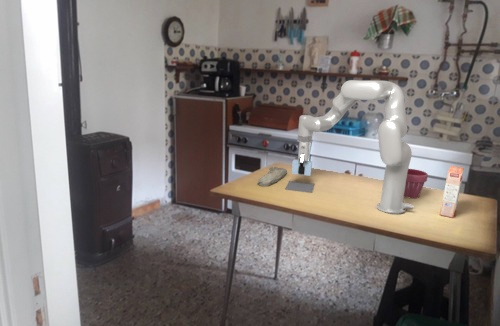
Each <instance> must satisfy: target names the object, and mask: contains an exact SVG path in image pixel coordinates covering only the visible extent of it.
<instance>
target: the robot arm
mask: <svg viewBox="0 0 500 326" xmlns="http://www.w3.org/2000/svg"><path fill="white" fill-rule="evenodd" d="M382 100H383V101H384V115H385V116H384V117H385V120H382V121H381V122H380V124H379V127H378V130H377V136H378V137H377V138H378V145H379V146H378V147H379V148H378V149H379V154H380V155H379V157H380V160H381V161H382V162H383V164H384V165H385V168H384V175H383V176H384V177H383V183H382V190H381V197H380V202H378V203H377V204H376V206H375V207H376V209H378V211H380V212H384V213H387V214H392V215H393V214H394V215H401V214H404V213H405V212H406V209H409V210H414V204H411V203H409V202H408V203H407V202H404V198H405V197H404V191H405V185H406V179H407V173H408V169H410V168H409V167H410V163H411V159H412V154H413V153H412V148H411V146H410V145H409V144H408V143H406V142H405V141H404V142H403V141H402V138H403V137H405V136H406V135H407V133H408V123H407V112H406V103H405V95H404V92H403V90H402V88H401V87H400V86H399V84H397V83H395V82H393V81H389V80H358V79H350V80H347V81H345V82H344V83H343V84H342V86H341V87H340V92H339V94H338V95H337V96H336V97H334V98H333V99H332V107H331V108H330V110H329V111H327V112H326V113H325V114H324V115H321V116H313V115H311V114H310V115H309V114H302V115H300V116H299V119H298V129H297V140H296V141H297V142H299V143H298V157H297V160H299V168H298V174H297V175H299V174H304V171H305V167H304V165H305V161H306V162H307V161H309V159H310V147H311V146H310V145H311V143H312V142H313V133H320V132H325V131H329V130H330V129H332V128H333V127H334V126H335V125H337V123H338V122H340V120H342V118H343V117H344V115H345V114H346V113H347V111H349V110H350V109H351V108H352V107H353V106H354V105H356V104H357V102H359V101H382ZM303 160H304V161H303ZM303 162H304V163H303Z"/></svg>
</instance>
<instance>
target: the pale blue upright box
mask: <svg viewBox="0 0 500 326" xmlns="http://www.w3.org/2000/svg"><path fill="white" fill-rule="evenodd" d="M303 161H304V160H303ZM303 163H304V162H303ZM291 166H292V167H291V174H292V175H299V176H309V177H311V175H312V170H313V169H312V168H313V161H310V160H308V161H307V162H306V161H305V165H304V167H305V171H304V174H298V168H299V160H298V159H293V160H292V165H291Z"/></svg>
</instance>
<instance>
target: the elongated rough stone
mask: <svg viewBox="0 0 500 326" xmlns="http://www.w3.org/2000/svg"><path fill="white" fill-rule="evenodd" d="M268 169H269V170H268V172H267V173H266V174H264V175H263V176H261V177H259V179H258V181H257V185H258V186H260V187H265V188H266V187H269V186H271V185H273V184H275V183H277V182H279V181H281V179H283V178H284V177H285V176H286V174H287V173H288V169H287V168H284V167H278V166H270V167H269V168H268Z"/></svg>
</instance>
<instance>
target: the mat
mask: <svg viewBox="0 0 500 326" xmlns="http://www.w3.org/2000/svg"><path fill="white" fill-rule="evenodd" d="M315 185H316V183H313V182H311V183H310V182H303V181H295V180H289V181H288V183H287V184H286V186H285V189H284V190H287V191H295V192H302V193H303V192H304V193H313V191H314V188H315Z"/></svg>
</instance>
